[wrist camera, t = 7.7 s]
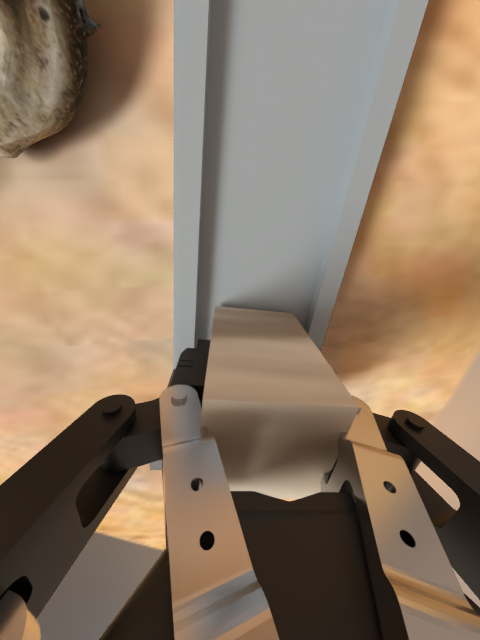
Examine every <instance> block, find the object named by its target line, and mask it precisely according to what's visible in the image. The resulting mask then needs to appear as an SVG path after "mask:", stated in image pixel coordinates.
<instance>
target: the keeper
mask: <svg viewBox="0 0 480 640" xmlns="http://www.w3.org/2000/svg"><path fill="white" fill-rule="evenodd" d="M358 410H359V406H358V405H357V403H356V402H355V400H354V399H353V398H352V396H351V395H350V393H349V392H348V390H347V389H346V388H345V386H344V385H343V383H342V382H341V381H340V379H339V378H338V376H337V375H336V373H335V372H334V371H333V369H332V368H331V366H330V365H329V364H328V362H327V361H326V359H325V358H324V357H323V355H322V354H321V352H320V351H319V349H318V348H317V347H316V345H315V344H314V342H313V341H312V340H311V338H310V337H309V335H308V334H307V332H306V331H305V330H304V328H303V327H302V325H301V324H300V323H299V321H298V320H297V318H296V317H295V316H294V314H293V313H285V312H275V311H264V310H253V309H243V308H232V307H221V306H215V312H214V319H213V326H212V334H211V341H210V348H209V356H208V363H207V370H206V378H205V385H204V392H203V401H202V415H201V426H205V427H207V430H208V434H209V435H213V436H214V438H215V441H216V444H217V447H218V451H219V454H220V458H221V461H222V464H223V468H224V471H225V475H226V478H227V482H228V485H229V488H230V491H255V492H258V493H262V494H265V495H268V496H272V497H275V498H281V499H301V498H304V497H307V496H310V495H313V494H316V493H319V492H321V484H320V481H321V479H322V476H323V474H324V473H331V470H332V468H333V466H334V464H335V461H336V459H337V457H338V445H337V441H338V439H339V437H340V434H341V432H349V430H350V428H351V425H352V423H353V421H354V419H355V416H356V414H357V412H358Z"/></svg>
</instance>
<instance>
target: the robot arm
mask: <svg viewBox="0 0 480 640" xmlns="http://www.w3.org/2000/svg"><path fill="white" fill-rule="evenodd" d="M210 341H211V340H205V339H198V343H197V347H196V348H186V349H185V350H184V351H183V352H182V353H181V355H180V357H179V361H178V363H177V366H176V369H175V372H174V375H173V378H172V381H171V384H170V387H169V388H167V389H165V390H164V391H163V392H162V393H161V395H160V397H159V398H158V399H155V400H152V401H149V402H144V403H138V404H135V402H134V400H133V399H132V398H131V397H129V396H127V395H112V396H108V397H105V398H103V399H101V400H99V401H98V402H96V403H95V404H94V405H93V406H92V407H90V408H89V409H88V410H87V411H86V412H85V413H83V414H82V415H81V416H80V417H79V418H78V419H77V420H75V421H74V422H73V423H72V424H71V425H70V426H68V427H67V428H66V429H65V430H64V431H63V432H62V433H60V434H59V435H58V436H57V437H56V438H55V439H53V440H52V441H51V442H50V443H49V444H48V445H47V446H45V447H44V448H43V449H42V450H41V451H40V452H38V453H37V454H36V455H35V456H34V457H33V458H32V459H30V460H29V461H28V462H27V463H26V464H25V465H23V466H22V467H21V468H20V469H19V470H18V471H16V472H15V473H14V474H13V475H12V476H11V477H10V478H8V479H7V480H6V481H5V482H4V483H3V484H1V485H0V640H40V627H39V623H38V621H37V620H36V619H37V617H38V616H39V614H40V613H41V611H42V610H43V608H44V607H45V605H46V604H47V602H48V601H49V599H50V598H51V596H52V595H53V593H54V592H55V590H56V589H57V587H58V586H59V584H60V583H61V581H62V580H63V578H64V577H65V575H66V574H67V572H68V571H69V569H70V568H71V566H72V565H73V563H74V562H75V560H76V558H77V557H78V556H79V554H80V552H81V551H82V550H83V548H84V547H85V545H86V544H87V542H88V540H89V539H90V538H91V536H92V534H93V533H94V532H95V530H96V529H97V527H98V526H99V524H100V523H101V521H102V520H103V518H104V517H105V515H106V514H107V512H108V511H109V509H110V508H111V506H112V505H113V503H114V502H115V500H116V499H117V497H118V496H119V494H120V493H121V491H122V490H123V488H124V487H125V485H126V484H127V482H128V481H129V479H130V478H131V476H132V475H133V473H134V472H135V470H136V469H137V467H138V466H141V465H145V464H148V463H151V462H155V461H158V460H162V478H163V497H164V518H165V538H166V549H165V550H164V552H163V553H162V554H161V556H160V557H159V559H158V560H157V561H156V563H155V564H154V565H153V567H152V568H151V569H150V571H149V572H148V574H147V575H146V576H145V578H144V579H143V580H142V582H141V583H140V584H139V586H138V587H137V588H136V590H135V591H134V593H133V594H132V596H131V597H130V598H129V599H128V601H127V602H126V604H125V605H124V606H123V608H122V609H121V610H120V612H119V613H118V615H117V616H116V617H115V619H114V620H113V621H112V623H111V624H110V625H109V627H108V628H107V630H106V631H105V632H104V634H103V635H102V636H101V638H100V639H99V640H480V608H479V607H478V606H477V605H476V604H475V603H474V602H473V601H472V600H471V599H470V598H469V597H468V596H467V595H465V594H464V593H463V591H462V589H461V587H460V585H459V582H458V580H457V578H456V576H455V573H454V571H453V569H452V567H453V568H454V570H455V571H456V572H457V573H458V575H459V576H460V577H461V578H462V579H463V580H464V582H465V583H466V584H467V585H468V586H469V588H470V589H471V590H472V591H473V592H474V594H475V595H476V596H477V597H478V598H479V600H480V462H479V461H478V460H477V459H476V458H474V457H473V456H472V455H470V454H469V453H467V452H466V451H465V450H464V449H463V448H461V447H460V446H459V445H457V444H456V443H455V442H453V441H452V440H451V439H449V438H448V437H447V436H446V435H444V434H443V433H442V432H440V431H439V430H438V429H436V428H435V427H434V426H433V425H431V424H430V423H429V422H427V421H426V420H425V419H423V418H422V417H420V416H418V415H417V414H414V413H412V412H409V411H406V410H397V411H395V412H394V414H393V416H392V418H389V417H385V416H382V415H378V414H375V413H372V411H371V409H370V407H369V406H368V405H367V404H366V403H365V402H363V401H362V400H361V399H359V398H357V397H355V396H352V395H351V396H352V398H353V399H354V400H355V402H356V403H357V405H358V406H359V410H358V412H357V414H356V416H355V419H354V421H353V423H352V425H351V428H350V430H349V432H341V434H340V437H339V439H338V441H337V445H338V457H337V459H336V461H335V464H334V466H333V468H332V470H331V473H324V474H323V476H322V479H321V481H320V484H321V492H319V493H316V494H313V495H310V496H307V497H304V498H301V499H298V500H295V501H285V500H281V499H278V498H275V497H272V496H268V495H265V494H262V493H258V492H255V491H230V488H229V485H228V482H227V478H226V475H225V471H224V468H223V464H222V461H221V458H220V454H219V451H218V447H217V444H216V441H215V438H214V436H213V435H209V434H208V430H207V427H205V426H201V415H202V401H203V392H204V385H205V378H206V370H207V363H208V356H209V348H210ZM421 461H422V462H423V463H424V464H425V465H426V466H428V467H429V468H430V469H431V470H432V471H433V472H434V473H435V474H436V475H437V476H438V477H439V478H440V479H442V480H443V481H444V482H445V483H446V484H447V485H448V486H449V487H450V488H451V489H452V490H453V491H454V492H455V493H456V495H457V496H458V498H459V501H460V508H459V509H458V510H457V511H456V510H454V509H453V508H452V507H451V506H450V505H449V504H448V503H447V502H446V501H445V500H444V499H443V498H442V497H441V496H440V495H439V494H438V493H437V492H436V491H435V490H434V489H433V488H432V487H431V486H430V485H429V484H428V483H427V482H426V481H424V479H422V477H421V476H420V475H419V474H418V473H417V472H416V471H415V469H416V468H417V466H418V465H419V463H420V462H421ZM451 566H452V567H451Z"/></svg>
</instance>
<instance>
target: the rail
mask: <svg viewBox="0 0 480 640" xmlns="http://www.w3.org/2000/svg"><path fill="white" fill-rule="evenodd" d="M428 1H429V0H174V370H173V373H172V376H171V378H170V381H169V384H168V387H167V388H169V387H170V384H171V381H172V378H173V375H174V372H175V369H176V366H177V363H178V361H179V357H180V355H181V353H182V352H183V351H184V350H185V349H186V348H196V347H197V343H198V339H205V340H211V334H212V326H213V319H214V312H215V306H221V307H232V308H243V309H253V310H264V311H275V312H285V313H293V314H294V316H295V317H296V318H297V320H298V321H299V323H300V324H301V325H302V327H303V328H304V330H305V331H306V332H307V334H308V335H309V337H310V338H311V340H312V341H313V342H314V344H315V345H316V347H317V348H318V349H319V351H321V347H322V344H323V341H324V338H325V335H326V331H327V328H328V325H329V322H330V318H331V315H332V312H333V309H334V305H335V302H336V299H337V296H338V292H339V289H340V286H341V283H342V279H343V276H344V273H345V270H346V267H347V263H348V260H349V257H350V254H351V250H352V247H353V244H354V241H355V237H356V234H357V231H358V228H359V224H360V221H361V218H362V215H363V211H364V208H365V205H366V202H367V199H368V195H369V192H370V189H371V186H372V182H373V179H374V176H375V173H376V169H377V166H378V163H379V160H380V156H381V153H382V150H383V147H384V143H385V140H386V137H387V134H388V131H389V127H390V124H391V121H392V118H393V114H394V111H395V108H396V105H397V101H398V98H399V95H400V92H401V88H402V85H403V82H404V79H405V75H406V72H407V69H408V66H409V63H410V59H411V56H412V53H413V50H414V46H415V43H416V40H417V37H418V33H419V30H420V27H421V24H422V20H423V17H424V14H425V11H426V7H427V4H428ZM150 470H162V460H158V461H155V462H151V463H150Z"/></svg>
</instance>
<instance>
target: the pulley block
mask: <svg viewBox="0 0 480 640" xmlns="http://www.w3.org/2000/svg"><path fill="white" fill-rule="evenodd" d="M100 28H101V25H98V24H96V23H95V22H94V21H93V20H92V19H91V18H90V16H89V15H88V14H87V13H86V9H85V6H84V2H83V0H0V156H1V157H5V158H15V157H17V156H19V155H20V154H21V153H22V152H23V151H24V150H25V149H26V148H27V147H28V146H30V145H32V144H34V143H36V142H38V141H40V140H42V139H44V138H46V137H49V136H51V135H53V134H56V133H58V132H59V131H61V130H62V129H64V128H65V127H66V126H68V124H69V123H70V121H71V120H72V119H73V117H74V116H75V114H76V113H77V111H78V110H79V108H80V104H81V101H82V98H83V94H84V88H85V83H86V77H87V68H88V59H87V47H88V36H90V35H92V34H94V33H95V32H96V31H97V30H98V29H100Z"/></svg>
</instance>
